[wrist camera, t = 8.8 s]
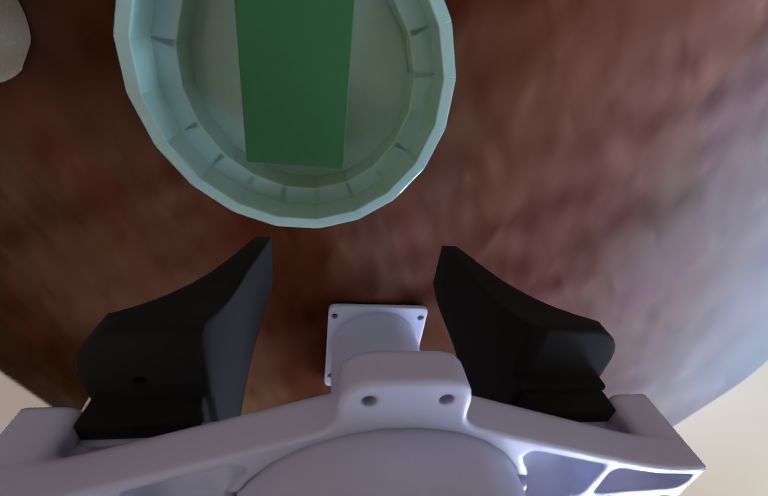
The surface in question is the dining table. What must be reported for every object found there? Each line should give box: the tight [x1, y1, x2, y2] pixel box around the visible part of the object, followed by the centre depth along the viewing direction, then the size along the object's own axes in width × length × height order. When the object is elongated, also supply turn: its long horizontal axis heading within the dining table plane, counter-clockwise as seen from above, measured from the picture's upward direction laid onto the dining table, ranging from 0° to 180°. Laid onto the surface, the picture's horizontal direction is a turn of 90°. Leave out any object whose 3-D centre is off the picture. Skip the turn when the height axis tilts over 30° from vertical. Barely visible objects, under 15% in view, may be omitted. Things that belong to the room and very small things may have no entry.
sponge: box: [234, 0, 355, 169], centre depth 17 cm, size 7×4×4 cm, turn 172°
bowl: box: [113, 0, 456, 228], centre depth 17 cm, size 14×14×4 cm
